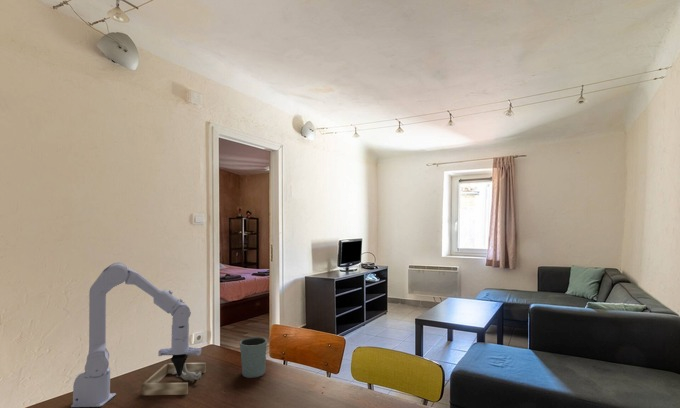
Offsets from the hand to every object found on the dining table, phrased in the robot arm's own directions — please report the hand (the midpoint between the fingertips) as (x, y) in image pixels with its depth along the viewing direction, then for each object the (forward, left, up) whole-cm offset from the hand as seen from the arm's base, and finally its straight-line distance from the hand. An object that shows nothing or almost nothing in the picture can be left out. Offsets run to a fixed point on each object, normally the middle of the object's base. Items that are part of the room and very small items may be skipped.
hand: (179, 375), depth 129 cm
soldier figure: (+2, +2, -3) cm, 4 cm away
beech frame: (-1, 0, -2) cm, 3 cm away
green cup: (+25, +7, -3) cm, 26 cm away
